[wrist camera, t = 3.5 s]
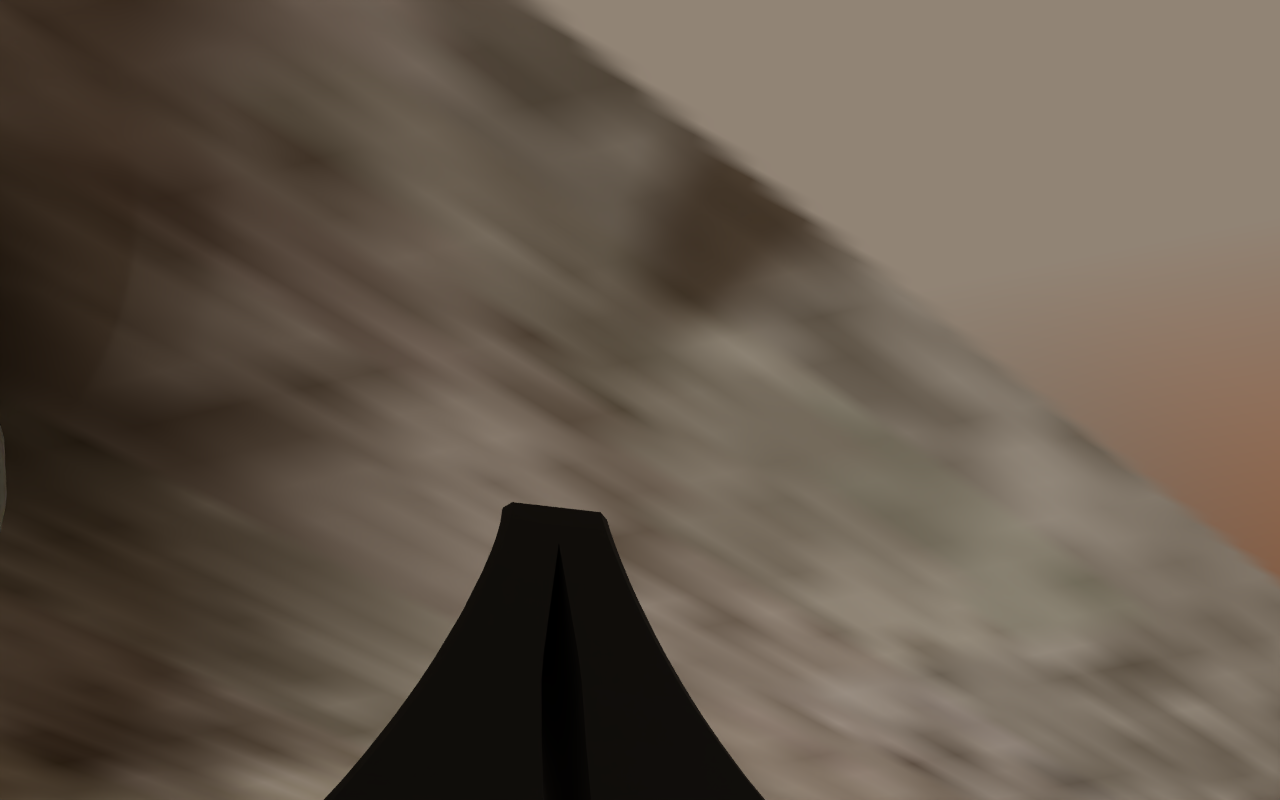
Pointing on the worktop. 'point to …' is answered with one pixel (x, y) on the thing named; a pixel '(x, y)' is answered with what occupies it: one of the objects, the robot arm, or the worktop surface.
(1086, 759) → the worktop surface
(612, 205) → the worktop surface
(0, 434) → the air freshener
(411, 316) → the worktop surface
